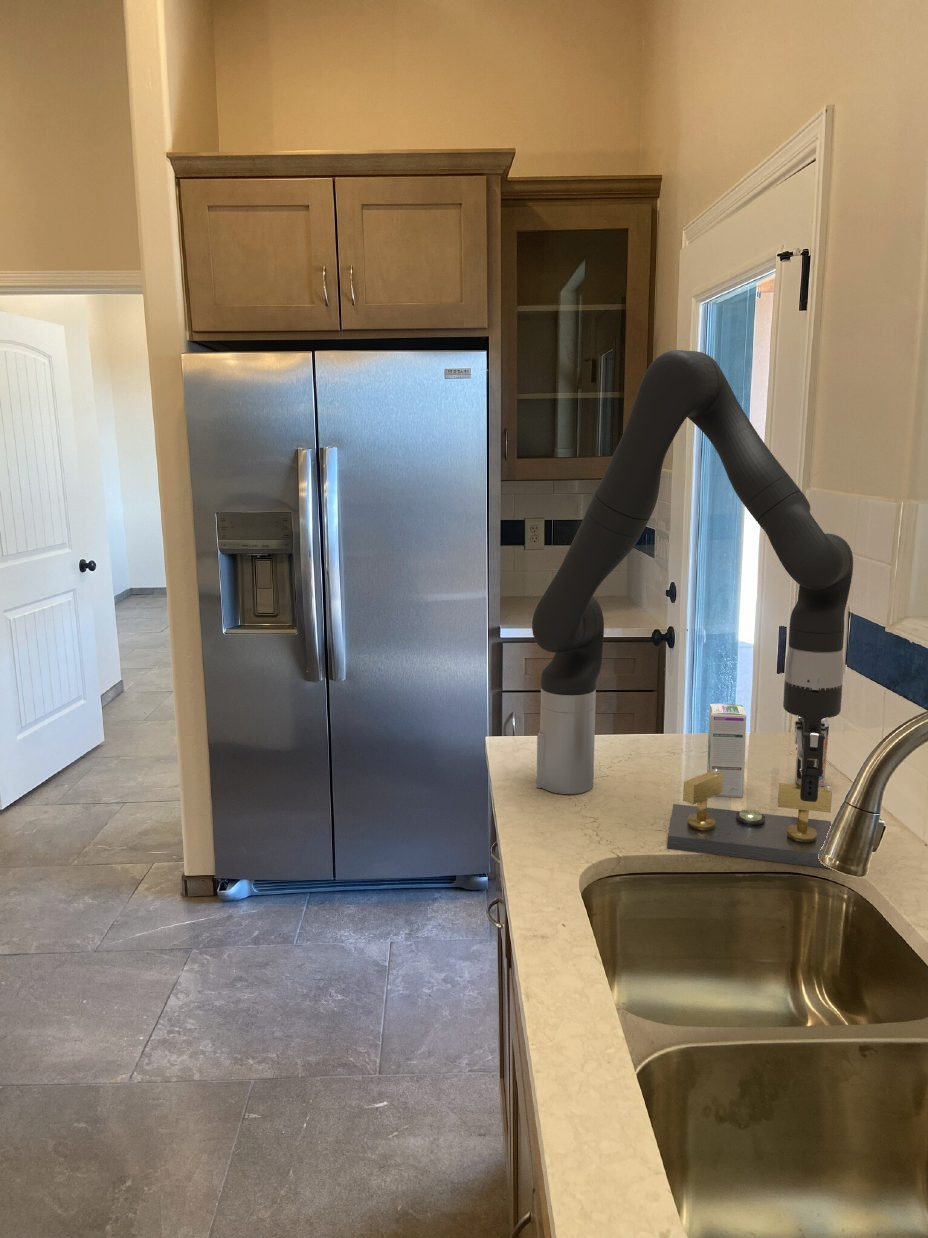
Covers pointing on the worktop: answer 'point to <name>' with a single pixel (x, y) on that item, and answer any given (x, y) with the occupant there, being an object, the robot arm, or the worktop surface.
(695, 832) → the levelling plate
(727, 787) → the syrup box
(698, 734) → the worktop surface
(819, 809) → the knob
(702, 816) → the knob
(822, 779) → the beer can
